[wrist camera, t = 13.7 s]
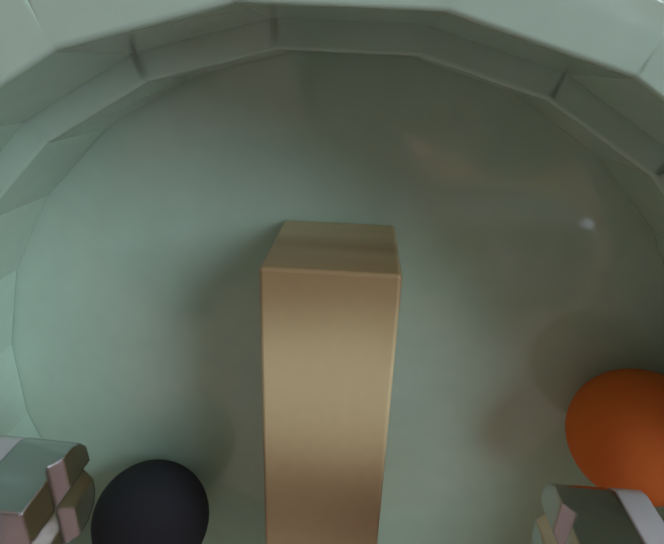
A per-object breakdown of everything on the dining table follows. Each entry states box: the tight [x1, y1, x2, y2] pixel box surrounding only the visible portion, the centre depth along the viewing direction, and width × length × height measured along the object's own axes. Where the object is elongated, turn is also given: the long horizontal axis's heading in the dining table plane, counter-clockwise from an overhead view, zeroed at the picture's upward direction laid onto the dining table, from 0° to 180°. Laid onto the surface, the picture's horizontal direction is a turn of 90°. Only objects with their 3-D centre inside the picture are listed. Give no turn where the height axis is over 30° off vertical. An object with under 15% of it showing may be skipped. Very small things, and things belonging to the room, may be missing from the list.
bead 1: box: [91, 459, 209, 544], centre depth 13 cm, size 3×3×3 cm
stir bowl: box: [0, 0, 664, 544], centre depth 11 cm, size 19×19×5 cm
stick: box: [259, 220, 402, 544], centre depth 12 cm, size 10×2×3 cm, turn 178°
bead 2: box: [565, 368, 664, 507], centre depth 11 cm, size 3×3×3 cm
